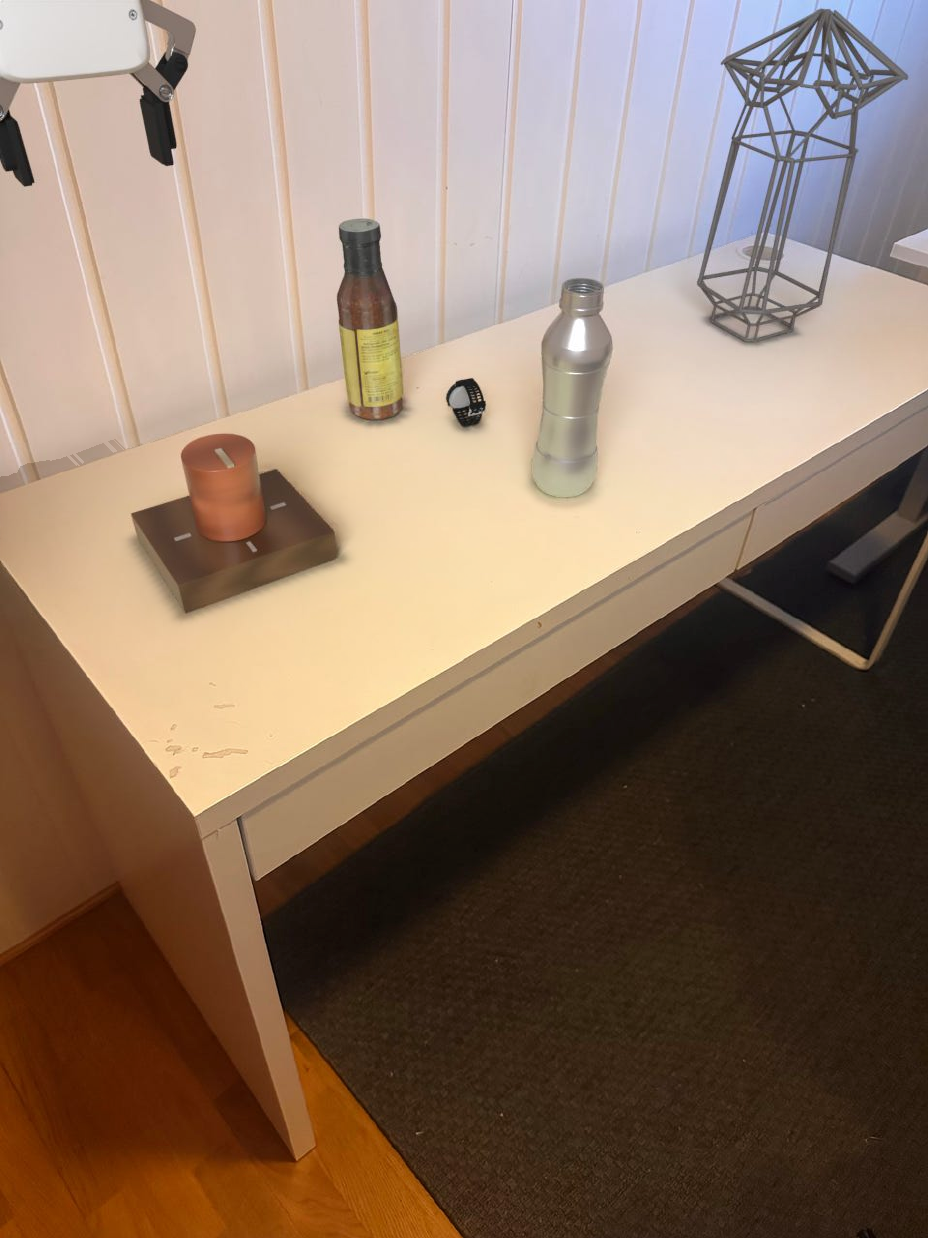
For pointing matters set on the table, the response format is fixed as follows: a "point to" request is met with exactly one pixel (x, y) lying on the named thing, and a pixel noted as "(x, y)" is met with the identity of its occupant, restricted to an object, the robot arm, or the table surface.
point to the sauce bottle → (368, 325)
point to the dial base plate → (234, 546)
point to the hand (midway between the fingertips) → (95, 170)
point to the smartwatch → (466, 401)
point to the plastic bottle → (572, 391)
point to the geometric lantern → (838, 28)
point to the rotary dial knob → (224, 486)
